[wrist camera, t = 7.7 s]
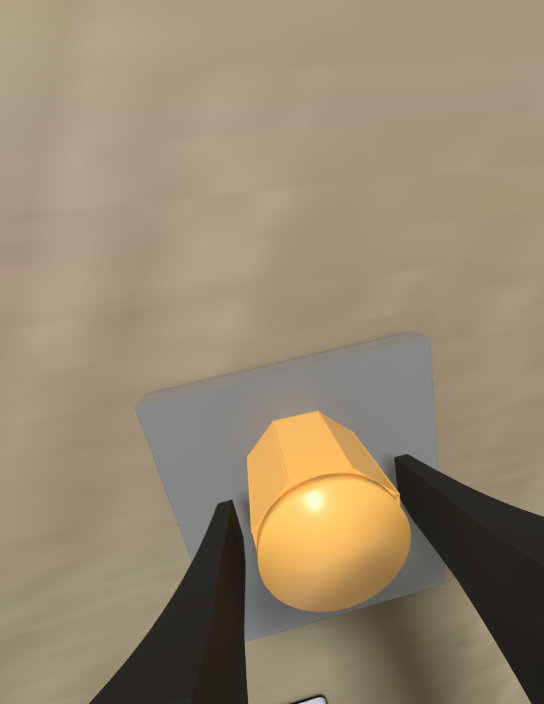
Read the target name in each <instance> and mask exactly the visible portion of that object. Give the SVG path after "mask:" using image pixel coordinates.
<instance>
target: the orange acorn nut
mask: <svg viewBox="0 0 544 704" xmlns="http://www.w3.org/2000/svg"><path fill="white" fill-rule="evenodd" d="M247 467H248V485H249V502H250V520H251V533H252V535H253V539H254V542H255V546H256V550H257V558H258V567H259V573H260V576H261V578H262V581H263V583H264V584H265V586H266V588H267V589H268V590H269V591H270V593H271V594H272V595H274V596H275V597H276V598H277V599H278V600H280V601H281V602H283V603H285V604H287V605H289V606H291V607H294V608H297V609H300V610H305V611H312V612H329V611H337V610H341V609H346V608H349V607H352V606H355V605H357V604H360V603H362V602H364V601H366V600H368V599H369V598H371V597H373V596H374V595H376V594H377V593H379V592H380V591H381V590H383V589H384V588H385V587H386V586H387V585H388V584H389V583H390V582H391V581H392V580H393V579H394V578H395V577H396V575H397V574H398V573H399V571H400V570H401V568H402V566H403V565H404V563H405V560H406V558H407V556H408V552H409V549H410V543H411V531H410V525H409V522H408V519H407V517H406V515H405V513H404V511H403V509H402V508H401V507H400V494H399V493H398V491H397V490H396V488H395V487H394V486H393V484H392V483H391V482H390V480H389V479H388V478H387V476H386V475H385V474H384V472H383V471H382V470H381V468H380V467H379V466H378V464H377V463H376V462H375V460H374V459H373V458H372V456H371V455H370V454H369V452H368V451H367V450H366V448H365V447H364V446H363V444H362V443H361V442H360V440H359V439H358V438H357V436H356V435H355V434H354V432H353V431H351V430H349V429H347V428H346V427H344V426H342V425H341V424H339V423H337V422H336V421H334V420H332V419H331V418H329V417H327V416H326V415H324V414H322V413H321V412H319V411H315V412H310V413H306V414H302V415H297V416H293V417H289V418H284V419H280V420H276V421H272V423H271V424H270V426H269V427H268V429H267V430H266V431H265V433H264V434H263V436H262V437H261V438H260V440H259V441H258V443H257V444H256V445H255V447H254V448H253V450H252V451H251V452H250V454H249V455H248V456H247Z"/></svg>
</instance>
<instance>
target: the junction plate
mask: <svg viewBox="0 0 544 704" xmlns="http://www.w3.org/2000/svg"><path fill="white" fill-rule="evenodd" d="M135 409H136V412H137V415H138V417H139V420H140V423H141V425H142V428H143V431H144V434H145V436H146V439H147V442H148V444H149V447H150V450H151V453H152V455H153V458H154V461H155V463H156V466H157V469H158V472H159V474H160V477H161V480H162V482H163V485H164V488H165V491H166V493H167V496H168V499H169V501H170V504H171V507H172V510H173V512H174V515H175V518H176V520H177V523H178V526H179V529H180V531H181V534H182V537H183V539H184V542H185V545H186V548H187V550H188V553H189V556H190V558H191V561H193V559H194V557H195V555H196V553H197V551H198V549H199V547H200V544H201V542H202V540H203V538H204V536H205V533H206V531H207V529H208V526H209V524H210V521H211V519H212V516H213V514H214V511H215V509H216V506H217V504H218V503H221V502H225V501H228V500H233V503H234V506H235V510H236V513H237V516H238V520H239V523H240V527H241V530H242V533H243V537H244V547H245V560H246V580H245V626H244V634H245V642H247V641H251V640H254V639H258V638H261V637H264V636H268V635H271V634H275V633H278V632H282V631H285V630H289V629H292V628H296V627H299V626H302V625H306V624H309V623H313V622H316V621H320V620H323V619H327V618H330V617H333V616H337V615H340V614H344V613H347V612H351V611H354V610H358V609H361V608H364V607H368V606H371V605H375V604H378V603H382V602H385V601H389V600H392V599H395V598H399V597H402V596H406V595H409V594H413V593H416V592H420V591H423V590H426V589H430V588H433V587H437V586H440V585H444V584H445V569H444V561H443V560H442V558H441V557H440V556H439V554H438V553H437V552H436V550H435V549H434V548H433V546H432V545H431V544H430V542H429V541H428V540H427V538H426V537H425V536H424V534H423V533H422V532H421V530H420V529H419V528H418V526H417V525H416V524H415V522H414V521H413V520H412V518H411V517H410V515H409V513H408V512H407V510H406V508H405V507H404V505H403V503H402V501H401V500H400V507H401V508H402V509H403V511H404V513H405V515H406V517H407V519H408V522H409V525H410V531H411V543H410V549H409V552H408V556H407V558H406V560H405V563H404V565H403V566H402V568H401V570H400V571H399V573H398V574H397V575H396V577H395V578H394V579H393V580H392V581H391V582H390V583H389V584H388V585H387V586H386V587H385V588H384V589H383V590H381V591H380V592H379V593H377V594H376V595H374V596H373V597H371V598H369V599H368V600H366V601H364V602H362V603H360V604H357V605H355V606H352V607H349V608H346V609H341V610H337V611H329V612H312V611H305V610H300V609H297V608H294V607H291V606H289V605H287V604H285V603H283V602H281V601H280V600H278V599H277V598H276V597H275V596H274V595H272V594H271V593H270V591H269V590H268V589H267V588H266V586H265V584H264V583H263V581H262V578H261V576H260V573H259V567H258V558H257V550H256V546H255V542H254V539H253V535H252V533H251V520H250V502H249V485H248V467H247V456H248V455H249V454H250V452H251V451H252V450H253V448H254V447H255V445H256V444H257V443H258V441H259V440H260V438H261V437H262V436H263V434H264V433H265V431H266V430H267V429H268V427H269V426H270V424H271V423H272V421H276V420H280V419H284V418H289V417H293V416H297V415H302V414H306V413H310V412H315V411H319V412H321V413H322V414H324V415H326V416H327V417H329V418H331V419H332V420H334V421H336V422H337V423H339V424H341V425H342V426H344V427H346V428H347V429H349V430H351V431H353V432H354V434H355V435H356V436H357V438H358V439H359V440H360V442H361V443H362V444H363V446H364V447H365V448H366V450H367V451H368V452H369V454H370V455H371V456H372V458H373V459H374V460H375V462H376V463H377V464H378V466H379V467H380V468H381V470H382V471H383V472H384V474H385V475H386V476H387V478H388V479H389V480H390V482H391V483H392V484H393V486H394V487H395V488H396V490H397V481H396V471H395V462H394V457H397V456H401V455H405V454H408V455H410V456H412V457H414V458H416V459H418V460H419V461H421V462H423V463H425V464H426V465H428V466H430V467H432V468H434V469H435V470H437V471H438V458H437V442H436V426H435V410H434V394H433V378H432V362H431V346H430V337H427V336H424V335H421V334H418V333H415V332H408V333H404V334H400V335H396V336H391V337H387V338H383V339H379V340H374V341H370V342H366V343H362V344H357V345H353V346H349V347H345V348H340V349H336V350H332V351H328V352H323V353H319V354H315V355H311V356H306V357H302V358H298V359H294V360H289V361H285V362H281V363H277V364H273V365H268V366H264V367H260V368H256V369H251V370H247V371H243V372H239V373H234V374H230V375H226V376H222V377H217V378H213V379H209V380H205V381H200V382H196V383H192V384H188V385H183V386H179V387H175V388H171V389H166V390H162V391H158V392H154V393H150V394H145V395H144V396H143V398H142V399H141V400H140V402H139V403H138V404H137V406H136V407H135ZM397 491H398V490H397Z"/></svg>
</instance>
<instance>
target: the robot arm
mask: <svg viewBox="0 0 544 704" xmlns="http://www.w3.org/2000/svg"><path fill="white" fill-rule="evenodd" d="M394 462H395V471H396V481H397V490H398V493H399V494H400V500H401V501H402V503H403V505H404V507H405V508H406V510H407V512H408V513H409V515H410V517H411V518H412V520H413V521H414V522H415V524H416V525H417V526H418V528H419V529H420V530H421V532H422V533H423V534H424V536H425V537H426V538H427V540H428V541H429V542H430V544H431V545H432V546H433V548H434V549H435V550H436V552H437V553H438V554H439V556H440V557H441V558H442V560H443V561H444V562H445V564H446V565H447V566H448V568H449V569H450V570H451V572H452V573H453V575H454V576H455V577H456V579H457V580H458V582H459V583H460V585H461V586H462V588H463V590H464V591H465V593H466V594H467V596H468V597H469V599H470V601H471V602H472V604H473V605H474V607H475V609H476V610H477V612H478V613H479V615H480V617H481V618H482V620H483V622H484V623H485V625H486V627H487V628H488V630H489V631H490V633H491V635H492V636H493V638H494V640H495V641H496V643H497V645H498V646H499V648H500V650H501V652H502V653H503V655H504V657H505V658H506V660H507V662H508V663H509V665H510V667H511V669H512V670H513V672H514V674H515V675H516V677H517V679H518V681H519V682H520V684H521V686H522V688H523V689H524V691H525V693H526V695H527V697H528V698H529V700H530V702H531V704H544V517H543V516H540V515H537V514H534V513H531V512H528V511H525V510H522V509H520V508H517V507H514V506H512V505H509V504H507V503H504V502H502V501H499V500H497V499H494V498H492V497H490V496H487V495H485V494H483V493H481V492H479V491H476V490H474V489H472V488H470V487H468V486H466V485H464V484H462V483H460V482H458V481H456V480H454V479H452V478H450V477H448V476H446V475H445V474H443V473H441V472H439V471H437V470H435V469H434V468H432V467H430V466H428V465H426V464H425V463H423V462H421V461H419V460H418V459H416V458H414V457H412V456H410V455H408V454H405V455H401V456H397V457H394ZM245 580H246V560H245V547H244V537H243V533H242V530H241V527H240V523H239V520H238V516H237V513H236V510H235V506H234V503H233V500H228V501H225V502H221V503H218V504H217V506H216V509H215V511H214V514H213V516H212V519H211V521H210V524H209V526H208V529H207V531H206V533H205V536H204V538H203V540H202V542H201V544H200V547H199V549H198V551H197V553H196V555H195V557H194V559H193V561H192V563H191V565H190V567H189V568H188V570H187V572H186V574H185V576H184V578H183V580H182V581H181V583H180V585H179V586H178V588H177V590H176V591H175V593H174V595H173V596H172V598H171V600H170V601H169V603H168V604H167V606H166V607H165V609H164V610H163V612H162V613H161V615H160V616H159V618H158V619H157V621H156V622H155V624H154V625H153V627H152V628H151V629H150V631H149V632H148V633H147V635H146V636H145V637H144V639H143V640H142V641H141V643H140V644H139V645H138V647H137V648H136V649H135V650H134V652H133V653H132V654H131V656H130V657H129V658H128V659H127V661H126V662H125V663H124V664H123V666H122V667H121V668H120V669H119V670H118V671H117V673H116V674H115V675H114V676H113V677H112V678H111V679H110V681H109V682H108V683H107V684H106V685H105V686H104V687H103V689H102V690H101V691H100V692H99V693H98V694H97V695H96V697H95V698H94V699H93V700H92V701H91V702H90V703H89V704H248V694H247V678H246V660H245V634H244V626H245ZM299 704H326V701H325V699H324V698H322V697H319V698H315V699H312V700H308V701H305V702H302V703H299Z"/></svg>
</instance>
